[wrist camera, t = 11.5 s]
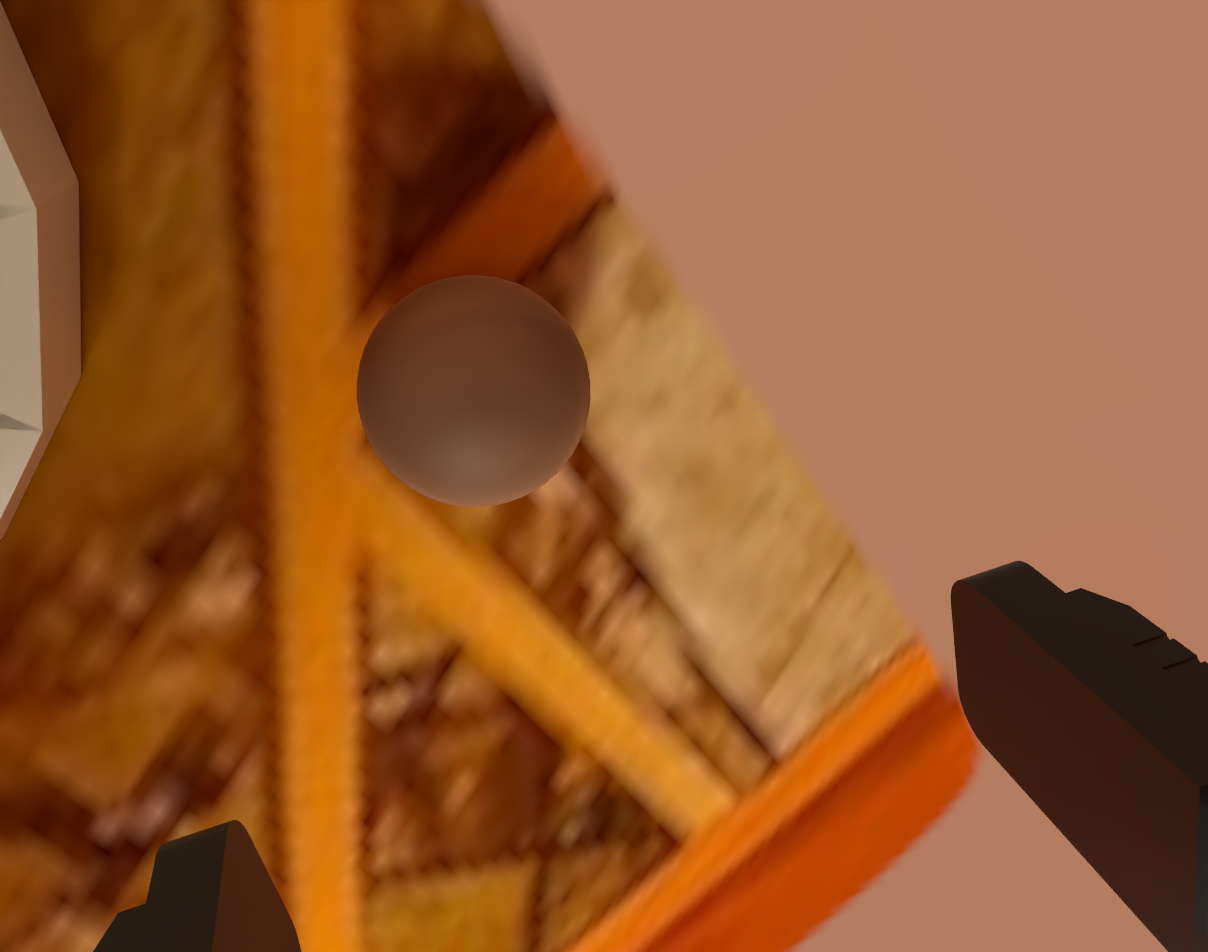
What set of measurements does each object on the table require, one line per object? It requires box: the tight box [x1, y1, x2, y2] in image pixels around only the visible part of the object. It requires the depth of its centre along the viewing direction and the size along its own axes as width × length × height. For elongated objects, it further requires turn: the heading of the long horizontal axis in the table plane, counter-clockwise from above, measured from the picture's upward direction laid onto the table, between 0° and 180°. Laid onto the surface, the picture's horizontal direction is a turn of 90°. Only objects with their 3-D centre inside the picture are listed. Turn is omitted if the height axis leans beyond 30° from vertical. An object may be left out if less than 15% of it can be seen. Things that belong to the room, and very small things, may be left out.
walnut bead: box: [357, 275, 590, 507], centre depth 23 cm, size 5×5×5 cm
